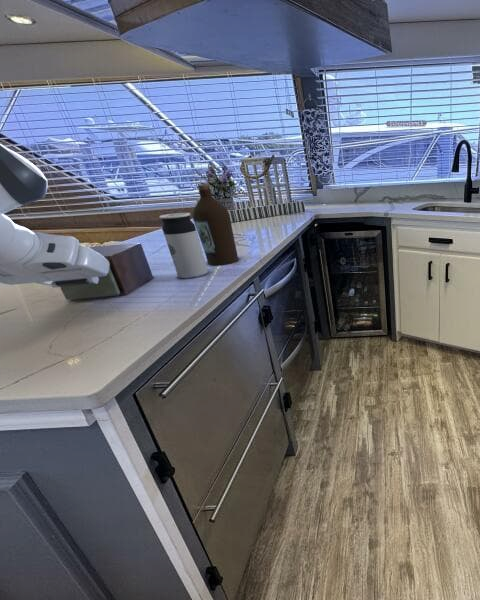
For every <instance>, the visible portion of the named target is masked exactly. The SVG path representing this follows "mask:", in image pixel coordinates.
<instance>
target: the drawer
mask: <svg viewBox="0 0 480 600" xmlns="http://www.w3.org/2000/svg"><path fill="white" fill-rule="evenodd" d="M107 260H108V259H107ZM108 261H109V260H108ZM109 264H110V262H109ZM98 278H99V281H98V283H97V284H89V283H87V282H86V278H80V279H69V280H58V281H55V284H56V285H57V286H59V287H58V288H60V290H61V292H62V294H63V296H64V298H65V300H66V301H73V300H72V299H81V300H83V299H82V298H91V299H93V298H92V297H101V298H103V297H102V296H110V297H112V296H111V295H118V294H120V290H121V289H120V286H119V284H118V282H117V279H116V277H115V274H114V272H113V270H112V267H111V265H110V266H109V271H108V274H107V275H106V276H102V277H98ZM60 286H62V287H60Z"/></svg>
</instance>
